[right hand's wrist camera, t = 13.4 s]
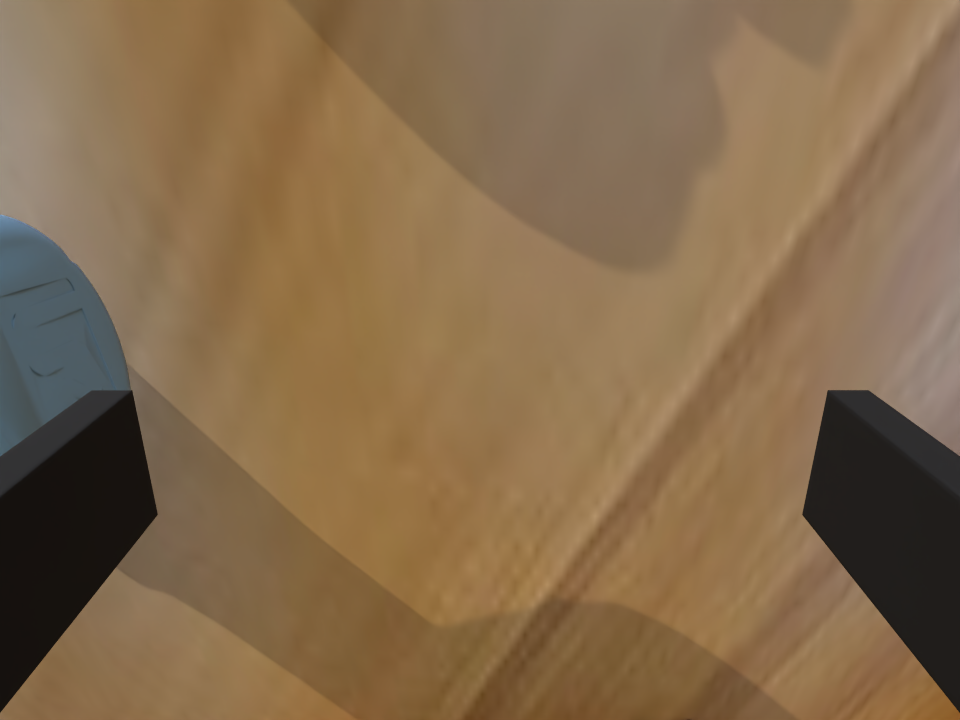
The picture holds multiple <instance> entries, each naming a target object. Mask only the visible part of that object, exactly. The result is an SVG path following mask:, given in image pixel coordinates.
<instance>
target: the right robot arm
mask: <svg viewBox="0 0 960 720" xmlns="http://www.w3.org/2000/svg"><path fill="white" fill-rule="evenodd" d="M157 515H158V514H157V509H156V504H155V499H154V494H153V489H152V485H151V480H150V475H149V470H148V465H147V460H146V455H145V451H144V446H143V441H142V436H141V431H140V426H139V421H138V417H137V412H136V407H135V402H134V397H133V392H132V390H91V391H90V392H89V393H87V394H86V395H84V396H83V397H82V398H80V399H79V400H78V401H76V402H75V403H73V404H72V405H71V406H69V407H68V408H66V409H65V410H64V411H62V412H61V413H60V414H58V415H57V416H55V417H54V418H53V419H51V420H50V421H49V422H47V423H46V424H44V425H43V426H42V427H40V428H39V429H37V430H36V431H35V432H33V433H32V434H31V435H29V436H28V437H26V438H25V439H24V440H22V441H21V442H19V443H18V444H17V445H15V446H14V447H13V448H11V449H10V450H8V451H7V452H6V453H4V454H3V455H2V456H0V712H1V711H2V710H3V709H4V707H5V706H6V705H7V704H8V702H9V701H10V700H11V698H12V697H13V696H14V695H15V693H16V692H17V691H18V690H19V688H20V687H21V686H22V685H23V683H24V682H25V681H26V680H27V678H28V677H29V676H30V675H31V673H32V672H33V671H34V670H35V668H36V667H37V666H38V665H39V663H40V662H41V661H42V660H43V658H44V657H45V656H46V654H47V653H48V652H49V651H50V649H51V648H52V647H53V646H54V644H55V643H56V642H57V641H58V639H59V638H60V637H61V636H62V634H63V633H64V632H65V631H66V629H67V628H68V627H69V626H70V624H71V623H72V622H73V621H74V619H75V618H76V617H77V616H78V614H79V613H80V612H81V610H82V609H83V608H84V607H85V605H86V604H87V603H88V602H89V600H90V599H91V598H92V597H93V595H94V594H95V593H96V592H97V590H98V589H99V588H100V587H101V585H102V584H103V583H104V582H105V580H106V579H107V578H108V577H109V575H110V574H111V573H112V571H113V570H114V569H115V568H116V566H117V565H118V564H119V563H120V561H121V560H122V559H123V558H124V556H125V555H126V554H127V553H128V551H129V550H130V549H131V548H132V546H133V545H134V544H135V543H136V541H137V540H138V539H139V538H140V536H141V535H142V534H143V533H144V531H145V530H146V529H147V527H148V526H149V525H150V524H151V522H152V521H153V520H154V519H155V517H156V516H157ZM802 515H803V516H804V517H805V519H806V520H807V521H808V522H809V524H810V525H811V526H812V527H813V529H814V530H815V531H816V533H817V534H818V535H819V536H820V538H821V539H822V540H823V541H824V543H825V544H826V545H827V546H828V548H829V549H830V550H831V551H832V553H833V554H834V555H835V556H836V558H837V559H838V560H839V561H840V563H841V564H842V565H843V566H844V568H845V569H846V570H847V571H848V573H849V574H850V575H851V577H852V578H853V579H854V580H855V582H856V583H857V584H858V585H859V587H860V588H861V589H862V590H863V592H864V593H865V594H866V595H867V597H868V598H869V599H870V600H871V602H872V603H873V604H874V605H875V607H876V608H877V609H878V610H879V612H880V613H881V614H882V616H883V617H884V618H885V619H886V621H887V622H888V623H889V624H890V626H891V627H892V628H893V629H894V631H895V632H896V633H897V634H898V636H899V637H900V638H901V639H902V641H903V642H904V643H905V644H906V646H907V647H908V648H909V649H910V651H911V652H912V653H913V654H914V656H915V657H916V658H917V660H918V661H919V662H920V663H921V665H922V666H923V667H924V668H925V670H926V671H927V672H928V673H929V675H930V676H931V677H932V678H933V680H934V681H935V682H936V683H937V685H938V686H939V687H940V688H941V690H942V691H943V692H944V693H945V695H946V696H947V697H948V698H949V700H950V701H951V702H952V704H953V705H954V706H955V707H956V709H957V710H958V711H959V712H960V456H958V455H957V454H956V453H954V452H953V451H952V450H950V449H949V448H947V447H946V446H945V445H943V444H942V443H941V442H939V441H938V440H936V439H935V438H934V437H932V436H931V435H929V434H928V433H927V432H925V431H924V430H923V429H921V428H920V427H918V426H917V425H916V424H914V423H913V422H911V421H910V420H909V419H907V418H906V417H905V416H903V415H902V414H900V413H899V412H898V411H896V410H895V409H894V408H892V407H891V406H889V405H888V404H887V403H885V402H884V401H882V400H881V399H880V398H878V397H877V396H876V395H874V394H873V393H871V392H870V391H869V390H828V392H827V397H826V402H825V407H824V412H823V417H822V421H821V426H820V431H819V436H818V441H817V446H816V451H815V455H814V460H813V465H812V470H811V475H810V480H809V485H808V489H807V494H806V499H805V504H804V509H803V514H802Z"/></svg>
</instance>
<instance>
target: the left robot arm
mask: <svg viewBox="0 0 960 720" xmlns="http://www.w3.org/2000/svg"><path fill="white" fill-rule="evenodd" d="M91 390H131V387H130V381H129V375H128V369H127V365H126V360H125V357H124V353H123V350H122V347H121V343H120V340H119V338H118V335H117V332H116V330H115V327H114V325H113V322H112V320H111V318H110V316H109V314H108V312H107V310H106V308H105V306H104V304H103V302H102V300H101V298H100V297H99V295H98V293H97V292H96V290H95V288H94V287H93V286H92V284H91V283H90V281H89V280H88V278H87V277H86V276H85V274H84V273H83V272H82V270H81V269H80V268H79V267H78V265H77V264H75V263H73V262H72V261H71V260H70V259H69V258H68V257H67V255H66V254H65V253H64V251H63V250H62V249H61V248H60V247H59V246H58V245H57V244H56V243H55V242H53V241H52V240H51V239H49V238H48V237H47V236H45V235H44V234H43V233H41V232H40V231H38V230H37V229H35V228H33V227H31V226H29V225H27V224H26V223H23V222H21V221H19V220H16V219H14V218H11V217H8V216H4V215H0V456H2V455H3V454H4V453H6V452H7V451H8V450H10V449H11V448H13V447H14V446H15V445H17V444H18V443H19V442H21V441H22V440H24V439H25V438H26V437H28V436H29V435H31V434H32V433H33V432H35V431H36V430H37V429H39V428H40V427H42V426H43V425H44V424H46V423H47V422H49V421H50V420H51V419H53V418H54V417H55V416H57V415H58V414H60V413H61V412H62V411H64V410H65V409H66V408H68V407H69V406H71V405H72V404H73V403H75V402H76V401H78V400H79V399H80V398H82V397H83V396H84V395H86V394H87V393H89V392H90V391H91Z"/></svg>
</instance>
